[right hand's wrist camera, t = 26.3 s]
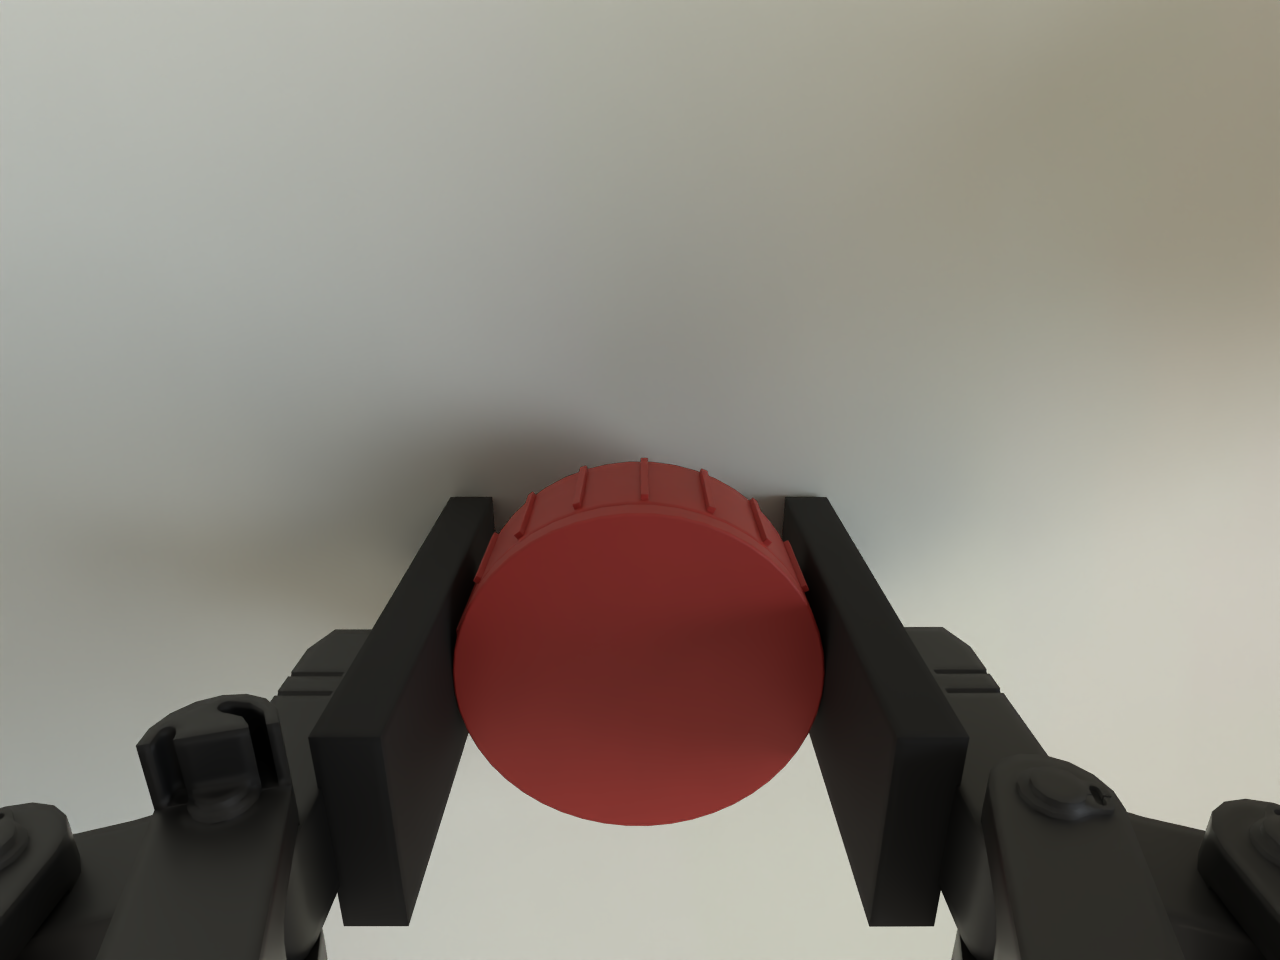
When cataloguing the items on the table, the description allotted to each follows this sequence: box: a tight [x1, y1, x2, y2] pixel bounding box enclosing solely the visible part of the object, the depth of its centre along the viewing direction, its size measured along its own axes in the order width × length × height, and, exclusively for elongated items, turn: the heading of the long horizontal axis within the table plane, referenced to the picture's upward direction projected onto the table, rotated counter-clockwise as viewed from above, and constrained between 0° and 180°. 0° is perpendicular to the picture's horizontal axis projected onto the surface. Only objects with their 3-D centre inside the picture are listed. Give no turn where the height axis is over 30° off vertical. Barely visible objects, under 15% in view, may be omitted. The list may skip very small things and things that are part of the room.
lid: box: [453, 458, 825, 826], centre depth 12 cm, size 5×6×2 cm
